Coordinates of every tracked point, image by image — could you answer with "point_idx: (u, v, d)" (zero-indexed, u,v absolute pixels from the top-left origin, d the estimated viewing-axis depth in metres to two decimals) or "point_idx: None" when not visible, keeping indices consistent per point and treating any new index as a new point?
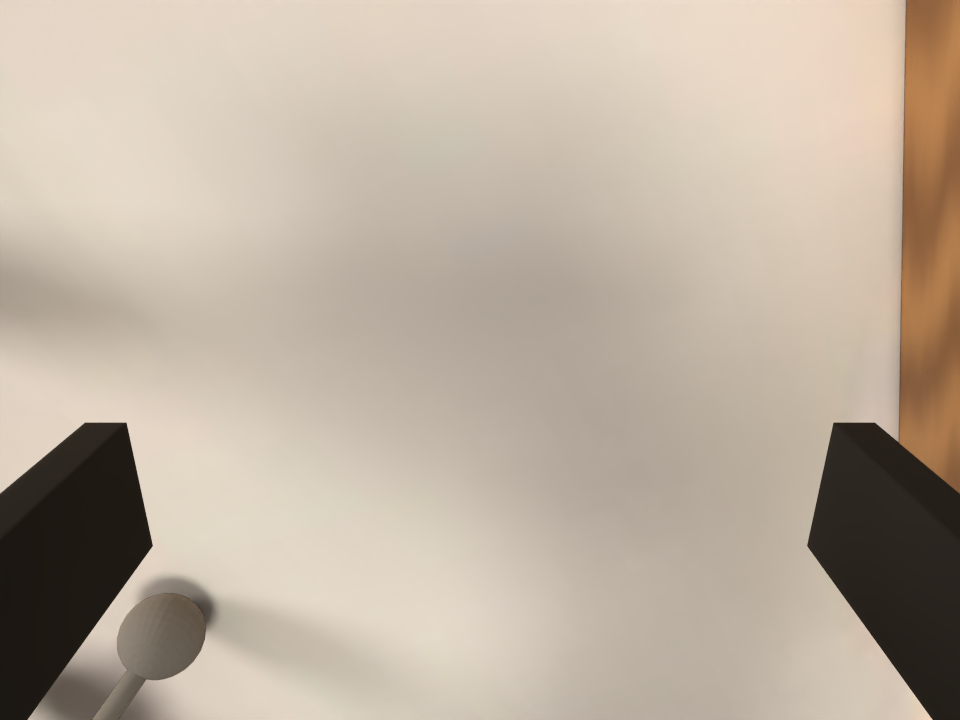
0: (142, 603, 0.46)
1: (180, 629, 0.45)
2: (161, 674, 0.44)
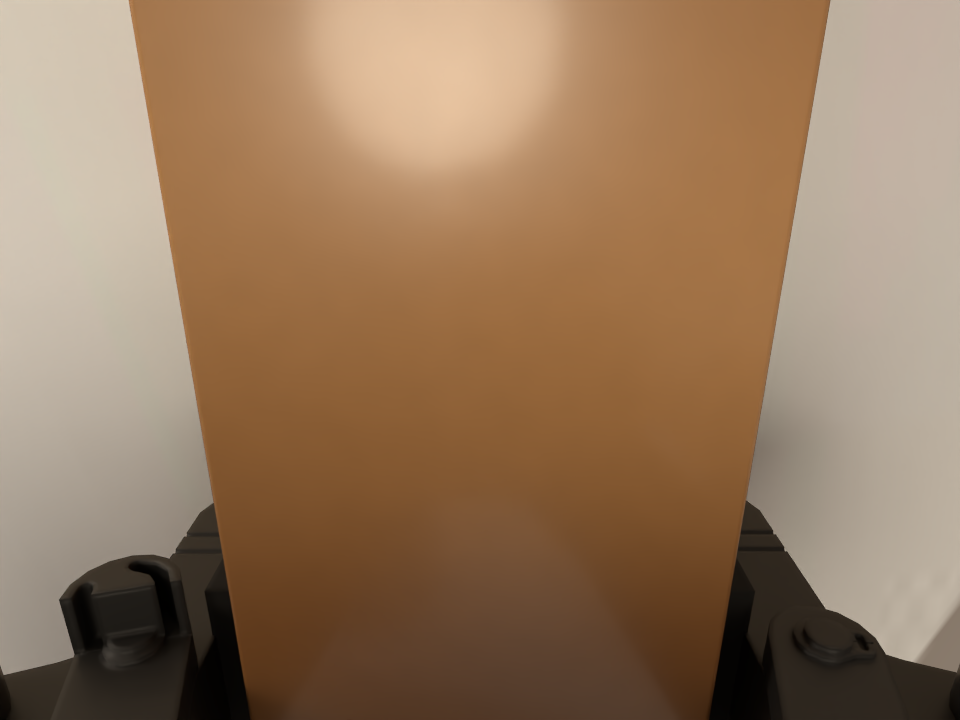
0: None
1: None
2: None
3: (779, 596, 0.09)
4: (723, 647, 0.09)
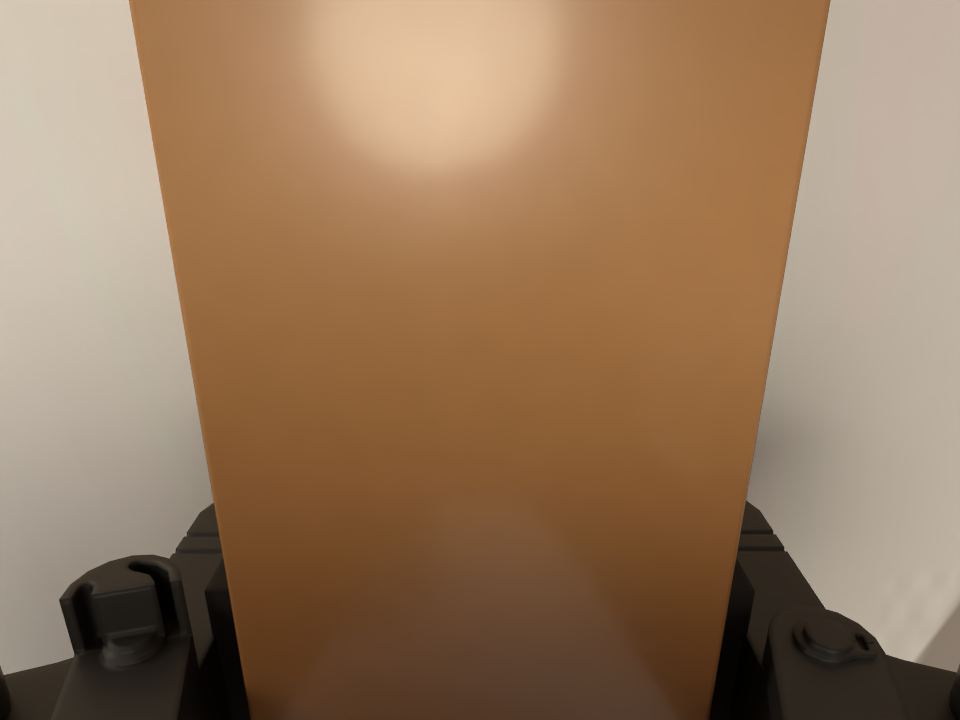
0: None
1: None
2: None
3: (779, 596, 0.09)
4: (723, 647, 0.09)
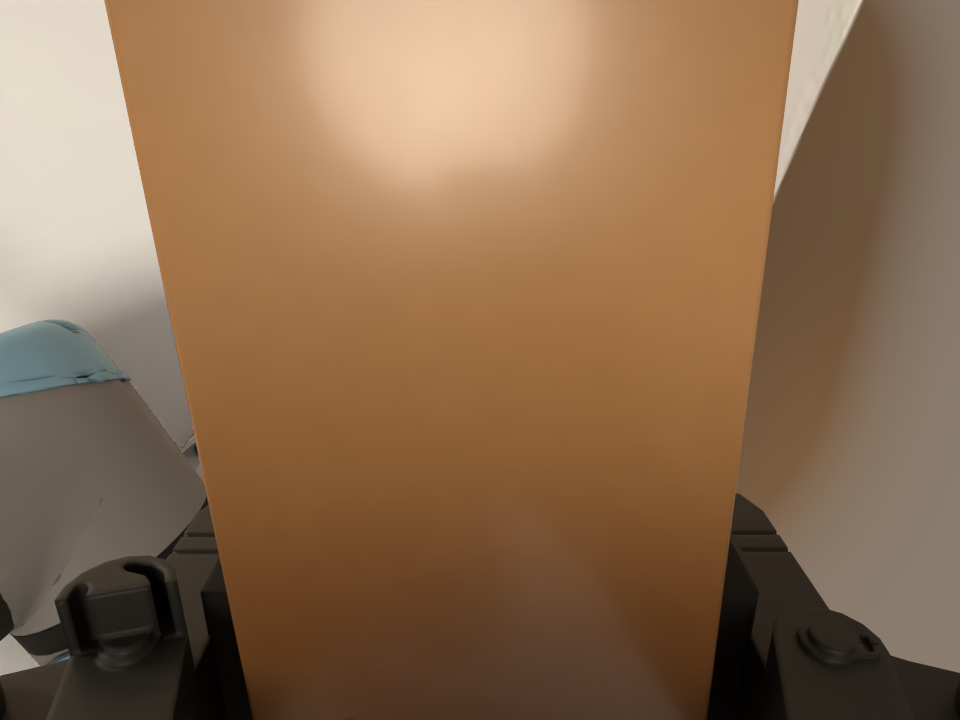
0: None
1: None
2: None
3: (783, 597, 0.09)
4: (727, 647, 0.08)
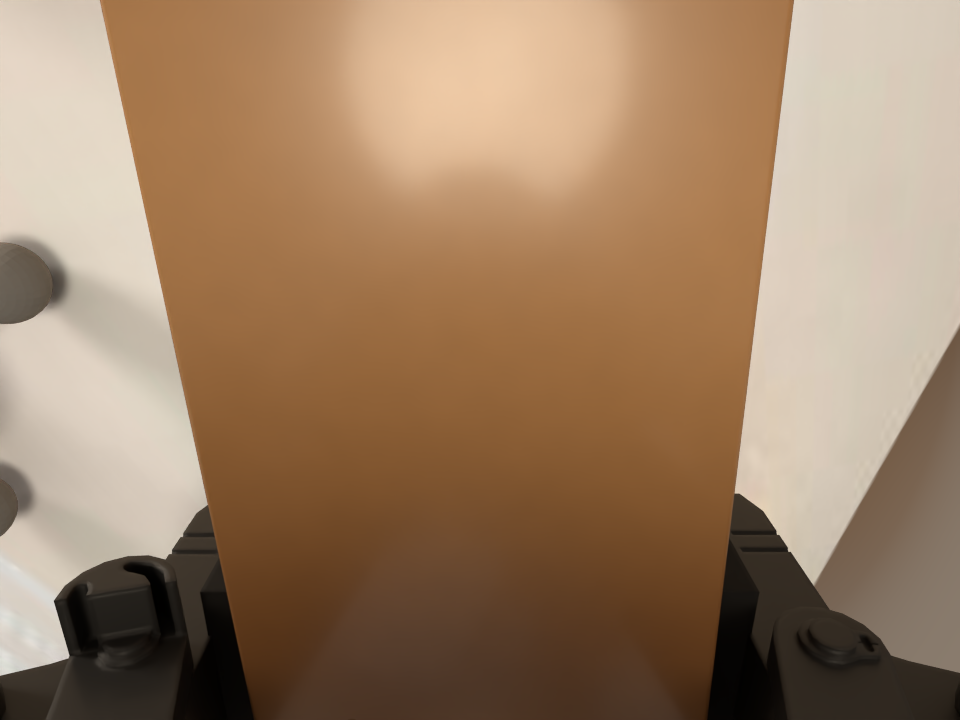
0: None
1: (22, 270, 0.44)
2: None
3: (783, 596, 0.09)
4: (727, 648, 0.08)
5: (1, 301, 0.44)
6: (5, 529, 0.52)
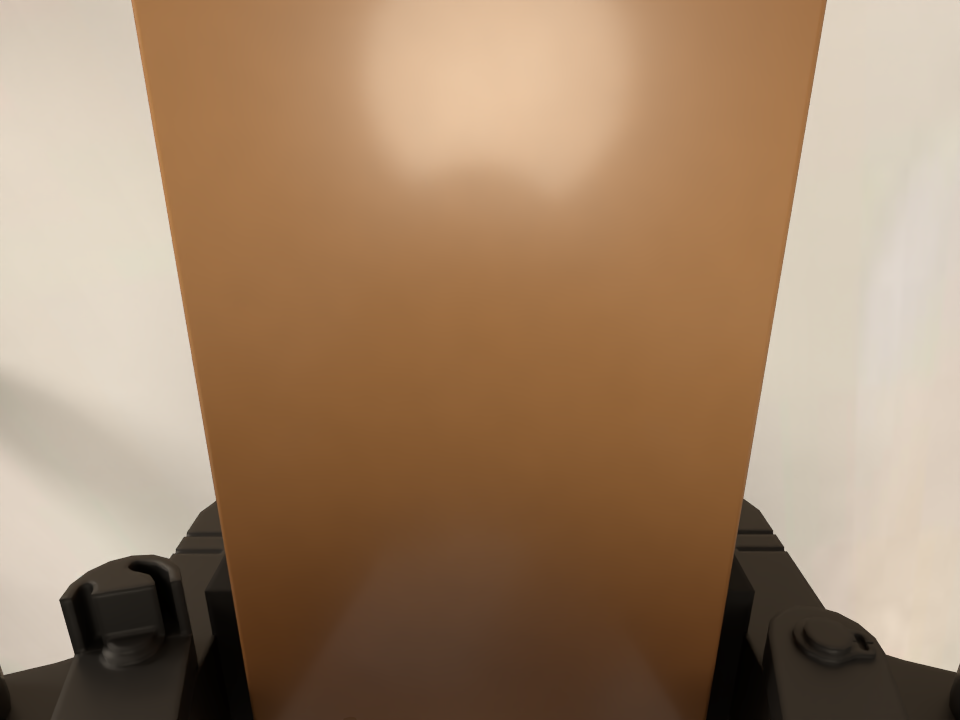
0: None
1: None
2: None
3: (779, 596, 0.09)
4: (723, 647, 0.09)
5: None
6: None
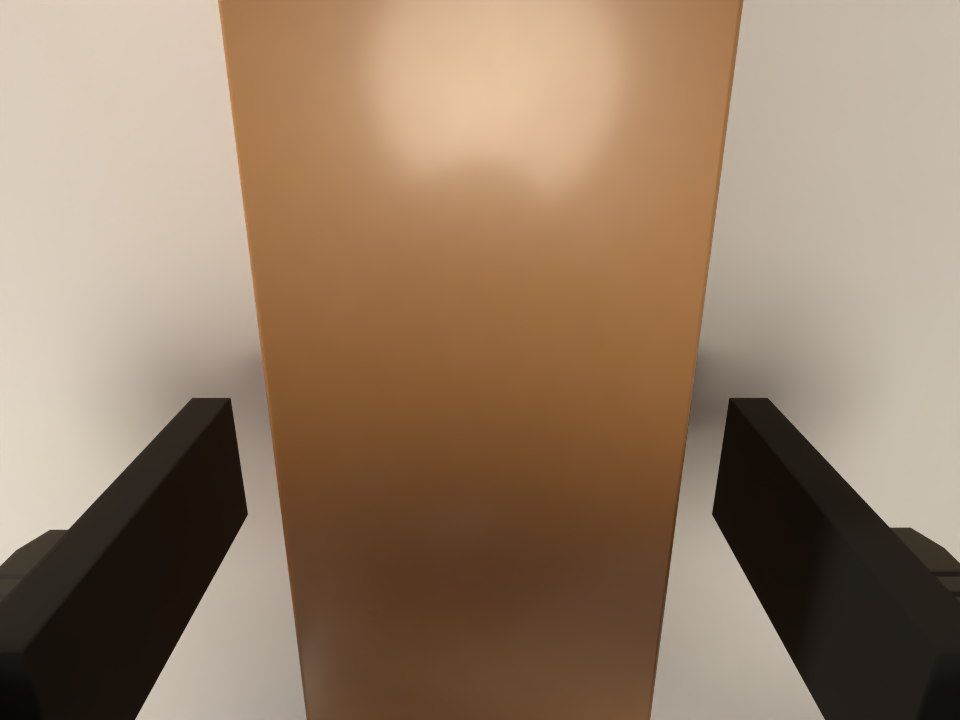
0: None
1: None
2: None
3: None
4: None
5: None
6: None
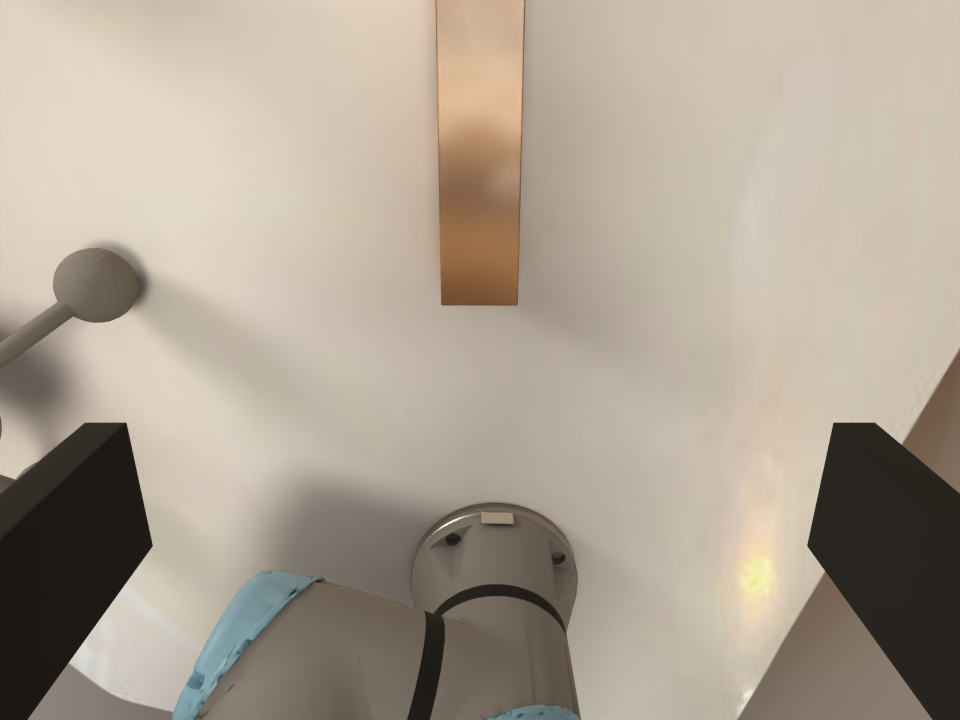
0: (84, 249, 0.50)
1: (116, 274, 0.49)
2: (90, 309, 0.48)
3: None
4: None
5: (97, 302, 0.48)
6: None
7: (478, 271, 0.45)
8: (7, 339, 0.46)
